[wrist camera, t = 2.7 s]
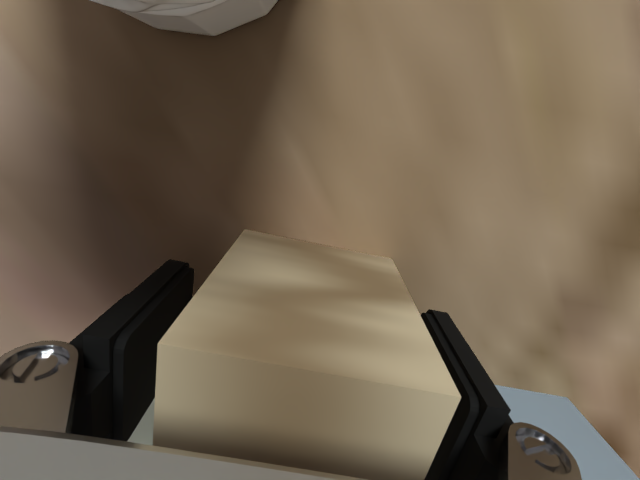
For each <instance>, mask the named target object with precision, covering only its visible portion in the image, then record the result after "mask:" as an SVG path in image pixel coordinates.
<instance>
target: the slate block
mask: <svg viewBox="0 0 640 480" xmlns="http://www.w3.org/2000/svg"><path fill="white" fill-rule="evenodd" d="M495 387H496V388H497V390H498V391H499V393H500V394H501V396H502V397H503V399H504V400H505V402H506V403H507V405H508V406H509V408H510V409H511V411H510V413H509V416H510V418H511V419H512V421H513V422H514V423H517V422H523V423H528V424H532V425H534V426H536V427H539V428H541V429H543V430H544V431H546V432H548V433H549V434H551V435H552V436H553V437H555V438H556V439H557V440H558V441H560V442H561V443H562V444H563V445H564V446H565V447H566V448H567V449H568V450H569V451H570V453H571V454H572V456H573V457H574V458H575V460H576V462H577V464H578V467H579V469H580V473H581V478H582V480H640V479H639V478H638V477H637V476H636V475H635V474H634V472H633V471H632V470H631V469H630V468H629V467H628V466H627V465H626V463H625V462H624V461H623V460H622V459H621V458H620V457H619V456H618V454H617V453H616V452H615V451H614V450H613V449H612V448H611V447H610V445H609V444H608V443H607V442H606V441H605V440H604V439H603V437H602V436H601V435H600V434H599V433H598V432H597V431H596V430H595V428H594V427H593V426H592V425H591V424H590V423H589V422H588V421H587V419H586V418H585V417H584V416H583V415H582V414H581V413H580V412H579V410H578V409H577V408H576V407H575V406H574V405H573V404H572V403H571V401H570V400H569V399H568V398H567V397H561V396H555V395H550V394H544V393H538V392H532V391H527V390H521V389H515V388H510V387H504V386H498V385H495Z"/></svg>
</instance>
